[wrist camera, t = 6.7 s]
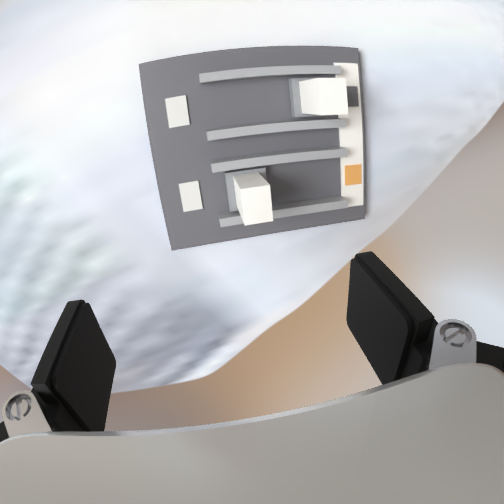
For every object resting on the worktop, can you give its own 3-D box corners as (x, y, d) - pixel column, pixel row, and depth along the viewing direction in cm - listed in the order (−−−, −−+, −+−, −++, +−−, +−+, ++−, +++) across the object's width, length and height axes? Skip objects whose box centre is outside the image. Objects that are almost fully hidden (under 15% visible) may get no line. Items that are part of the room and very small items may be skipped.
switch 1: (263, 165, 25) (278, 179, 21) (267, 202, 27) (281, 223, 22) (224, 171, 25) (230, 186, 21) (229, 208, 27) (236, 230, 22)
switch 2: (325, 78, 23) (353, 74, 18) (328, 115, 24) (356, 118, 20) (288, 79, 23) (309, 73, 18) (292, 117, 24) (313, 120, 20)
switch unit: (352, 49, 23) (365, 45, 21) (360, 215, 30) (371, 224, 28) (140, 65, 21) (135, 61, 19) (172, 245, 28) (170, 257, 26)
